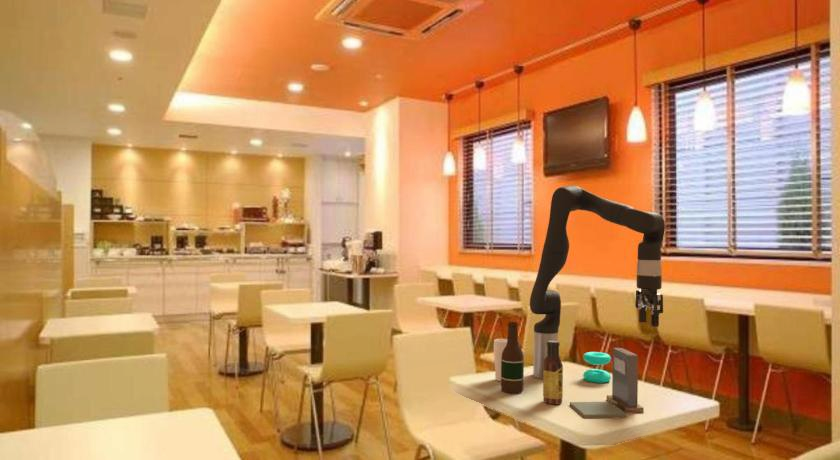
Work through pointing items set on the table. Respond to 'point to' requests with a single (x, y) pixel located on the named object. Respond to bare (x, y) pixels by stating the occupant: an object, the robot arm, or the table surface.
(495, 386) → the table surface
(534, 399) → the table surface
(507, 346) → the beer bottle
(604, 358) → the donuts
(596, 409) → the mat
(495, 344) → the drinking glass
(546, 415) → the table surface
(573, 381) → the table surface
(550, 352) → the sauce bottle
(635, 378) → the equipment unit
